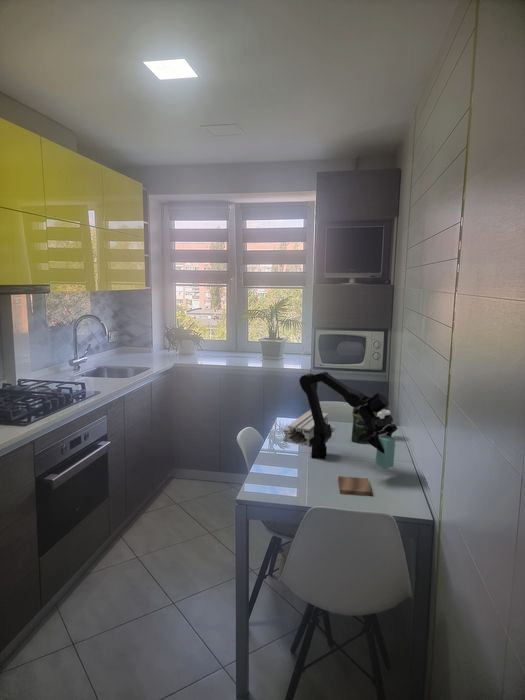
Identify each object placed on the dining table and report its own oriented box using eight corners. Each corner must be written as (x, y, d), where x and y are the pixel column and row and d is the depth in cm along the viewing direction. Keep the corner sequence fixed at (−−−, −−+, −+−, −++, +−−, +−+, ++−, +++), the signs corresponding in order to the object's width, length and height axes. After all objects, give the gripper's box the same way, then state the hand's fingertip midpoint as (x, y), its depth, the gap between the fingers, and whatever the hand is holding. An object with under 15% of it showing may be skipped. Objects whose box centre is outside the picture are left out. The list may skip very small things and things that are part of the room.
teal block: (385, 469, 174) (387, 440, 172) (375, 464, 178) (377, 437, 177) (393, 466, 177) (395, 438, 175) (383, 462, 181) (385, 435, 179)
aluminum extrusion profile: (282, 442, 220) (283, 423, 218) (303, 425, 247) (304, 408, 245) (308, 447, 213) (309, 427, 212) (327, 429, 240) (328, 412, 239)
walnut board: (339, 493, 165) (340, 489, 165) (338, 479, 177) (338, 476, 177) (371, 495, 164) (371, 492, 163) (367, 481, 175) (368, 478, 175)
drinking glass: (386, 441, 222) (388, 413, 220) (374, 438, 226) (375, 411, 224) (390, 437, 228) (392, 410, 226) (377, 435, 231) (379, 408, 229)
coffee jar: (370, 439, 224) (372, 405, 222) (368, 444, 217) (371, 409, 214) (352, 437, 228) (354, 403, 225) (349, 442, 220) (351, 407, 218)
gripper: (364, 412, 172) (384, 447, 165) (395, 405, 183) (415, 438, 175) (349, 425, 180) (367, 459, 173) (380, 418, 190) (398, 450, 183)
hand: (388, 451), depth 176 cm, fingers closed on teal block, 5 cm apart
